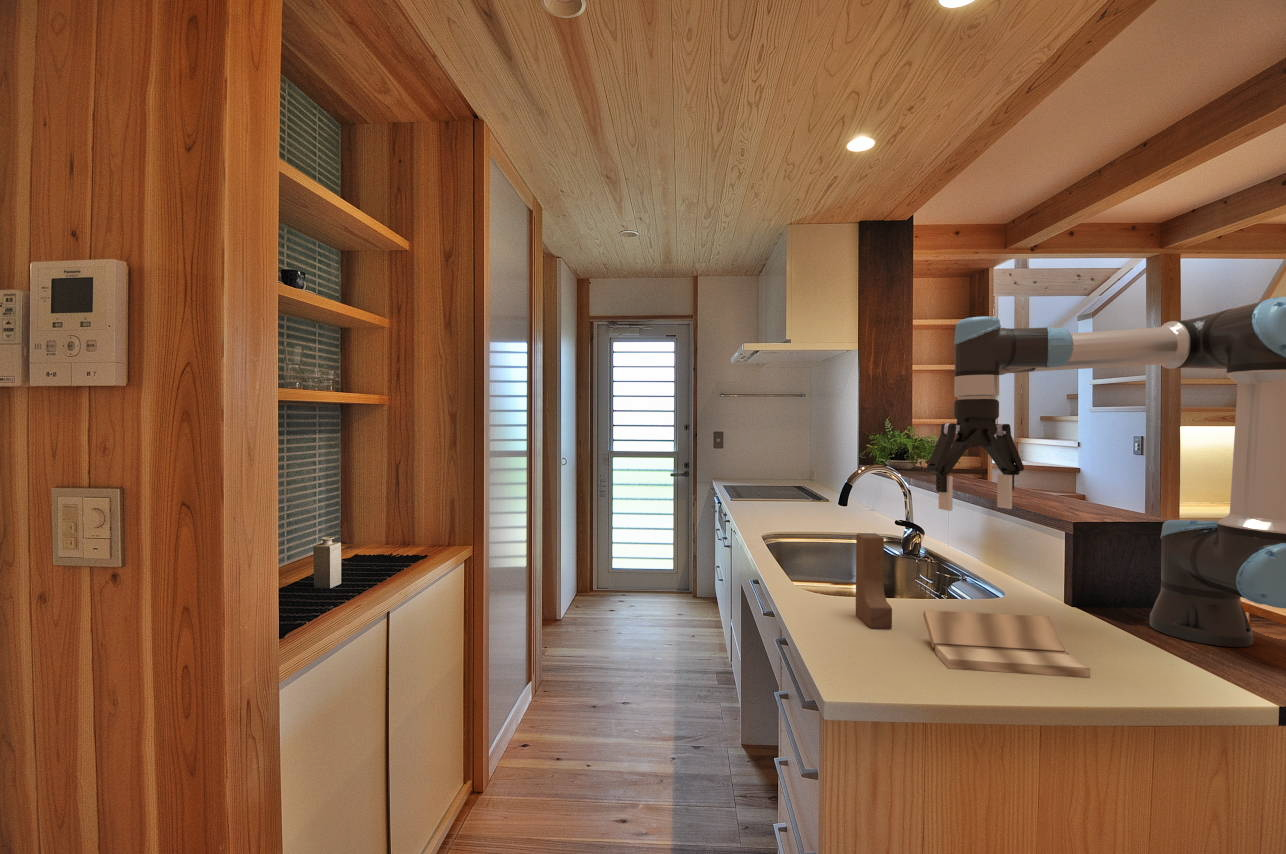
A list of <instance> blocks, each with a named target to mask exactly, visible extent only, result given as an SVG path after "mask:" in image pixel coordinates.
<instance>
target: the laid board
mask: <svg viewBox="0 0 1286 854" xmlns="http://www.w3.org/2000/svg"><path fill="white" fill-rule="evenodd" d="M934 649H935V650H934V651H935V652H934V653H935V655H936V656H937V657H938V658H939V660H940V661H941V662H942V663H943V664H944V665H945V666H946V667H947V668H948V669H952V670H955V669H956V670H970V671H983V672H984V671H985V672H1000V673H1001V672H1002V673H1014V674H1015V673H1016V674H1027V675H1028V674H1031V675H1044V676H1045V675H1047V676H1062V677H1075V678H1076V677H1077V678H1090V679H1091V667H1090V666H1089V665H1087V664H1085V663H1083V662H1082V661H1081V660H1080V659H1077V658H1076V657H1074V656H1073V655H1072V654H1070V653H1069V652H1066V651H1065V652H1049V651H1032V650H1016V649H999V648H983V647H966V646H950V645H935V648H934Z"/></svg>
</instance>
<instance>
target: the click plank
mask: <svg viewBox="0 0 1286 854" xmlns="http://www.w3.org/2000/svg"><path fill="white" fill-rule="evenodd" d="M922 617H923V620H924V623H925V626H926V630H927V633H928V637H929V640H930V641H929V642H930V644H931V648H934V649H935V645H950V646H966V647H983V648H999V649H1016V650H1032V651H1049V652H1065V653H1066V651H1067V650H1066V649H1065V646H1064V644H1063V642H1062V640H1061V637H1060V636H1059V634H1058V631H1057V630H1056V628H1055V625H1054V623H1053V622H1052V619H1051V617H1050V616H1046V615H1045V616H1044V615H1043V616H1041V615H1028V614H1027V615H1026V614H1025V615H1024V614H1023V615H1022V614H1005V613H989V612H971V611H969V612H968V611H950V610H949V611H948V610H947V611H946V610H927V609H924V610H923V614H922Z"/></svg>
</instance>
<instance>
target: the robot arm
mask: <svg viewBox="0 0 1286 854" xmlns="http://www.w3.org/2000/svg"><path fill="white" fill-rule="evenodd" d="M954 332H955V333H954V342H953V346H954V388H953V389H954V393H953V394H954V397H955V398H957V399H956V400H954V403H953V411H954V412H953V417H954V419H956V423H954V422H953V423H951V422H950V423H949V422H948V423H946V422H945V423H942V424H941V425H940V426H941V429H940V436H939V437H938V440H937V442H936V444H935V447H934V449H933V452H932V453H931V456H930V458H929V461H928V462H927V466H926V467H925V468H926V469H925V470H926V471H927V472H931V474H932V475H935V480H936V481H935V482H936V483H935V484H936V485H935V490H936V492H938V509H939V510H943V511H944V510H945V511H949V512H952V511H953V494H954V492H953V491H954V489H953V487H954V485H953V482H954V481H953V480H954V477H953V475H949V474H950V473H951V472H952V470H953V469H954V467H955V466H956V464H957V463H958V462H959V461H960V459H961V457H962V456H963V455H964V453H965V452H966V451H967V450H968V449H971V448H978V447H979V448H983V449H984V450H985V451H986V453H987V454H988V455H989V457H990V458H991V459H992V461H993V462H994V464H995V466H996V467H997V468H998V470H999V471H1000V472H1001V473H999V474H998V473H997V489H996V490H997V493H996V494H997V497H996V499H997V501H996V502H997V503H996V507H997V508H1000V509H1001V508H1002V509H1008V510H1013V492H1014V491H1015V476H1018V475H1020V474H1021V472H1023V471H1024V470H1025V467H1024V464H1023V462H1022V458H1021V456H1020V454H1019V451H1018V449H1017V446H1016V444H1015V442H1014V439H1013V436H1012V430H1011V429H1012V428H1011V425H1010V424H1009V423H996V420H997V419H999V417H1000V401H999V400H998V399H996V398H997V397H999V396H1000V376H1003V375H1007V374H1020V373H1031V372H1033V373H1034V372H1050V371H1051V372H1052V371H1062V370H1063V371H1065V370H1067V371H1068V370H1084V369H1101V368H1102V369H1103V368H1118V367H1135V366H1137V367H1138V366H1139V367H1140V366H1152V365H1160V366H1162V367H1163V368H1165V369H1169V370H1171V369H1172V370H1173V369H1174V370H1175V369H1209V370H1210V369H1211V370H1212V369H1213V370H1214V369H1215V370H1216V369H1217V370H1226V376H1227V377H1228V378H1229V379H1230V380H1232V381H1233V382H1235V384H1236V386H1237V392H1236V404H1235V405H1236V406H1235V407H1236V408H1235V419H1234V420H1235V423H1234V440H1233V453H1232V468H1231V469H1232V472H1231V486H1230V500H1229V501H1230V503H1229V513H1228V514H1227V515H1226V516H1225V517H1223V518H1221V519H1219V520H1197V519H1196V520H1193V519H1192V520H1188V519H1169V520H1166V521H1164V522H1163V524H1162V527H1161V534H1160V536H1159V537H1160V541H1161V543H1160V545H1161V548H1160V549H1161V551H1160V553H1161V559H1160V560H1161V562H1160V564H1161V565H1160V567H1161V568H1160V570H1161V571H1160V576H1161V577H1160V578H1161V579H1160V580H1161V581H1160V590H1159V591H1160V592H1159V594H1158V597H1157V598H1156V600H1155V602H1154V605H1153V608H1152V610H1151V611H1150V613H1149V626H1150V627H1151V628H1152V629H1153V630H1155V631H1157V632H1159V633H1163V634H1165V635H1166V636H1167V635H1168V636H1171V637H1173V638H1174V637H1175V638H1178V639H1181V640H1186V641H1189V642H1195V643H1199V644H1205V645H1211V646H1217V647H1218V646H1220V647H1226V648H1227V647H1229V648H1230V647H1231V648H1244V647H1251V646H1252V645H1253V644H1254V631H1253V629H1252V627H1251V624H1250V622H1249V619H1248V617H1247V614H1246V612H1245V609H1244V606H1243V605H1242V599H1241V598H1243V599H1246V601H1247V600H1248V602H1249V601H1250V602H1252V603H1254V604H1256V605H1257V604H1258V605H1265V606H1267V607H1268V606H1269V607H1272V608H1278V609H1286V296H1280V297H1278V296H1276V297H1270V298H1267V299H1265V300H1263V301H1259V302H1254V303H1251V304H1246V305H1241V306H1238V307H1235V308H1234V307H1233V308H1229V309H1225V310H1222V311H1218V312H1215V313H1211V314H1207V315H1202V316H1198V317H1195V318H1189V319H1188V318H1187V319H1184V320H1171V321H1168V322H1165V323H1163V324H1162V325H1161V326H1157V327H1145V328H1128V329H1117V330H1116V329H1115V330H1113V329H1112V330H1101V331H1099V330H1098V331H1086V332H1073V333H1072V332H1071V331H1069V329H1067V328H1065V327H1050V326H1046V327H1023V328H1022V327H1021V328H1019V327H1018V328H1017V327H1016V328H1014V327H1013V328H1005V327H1002V325H1001V322H1000V318H998V317H996V316H987V315H986V316H985V315H984V316H973V317H967V318H966V317H965V318H963V319H961V320H959V321H958V322H957V323H956V325H955V331H954Z"/></svg>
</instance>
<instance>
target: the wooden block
mask: <svg viewBox="0 0 1286 854" xmlns="http://www.w3.org/2000/svg"><path fill="white" fill-rule="evenodd" d="M855 536H856V544H855V547H856V549H855V552H856V553H855V554H856V555H855V556H856V559H855V565H856V566H855V570H856V571H855V615H856V617H858V618H859V620H861V621H862V622H863V623H864V624H865V625H866V626H868V627H869V629H872V630H873V629H874V630H875V629H876V630H879V629H880V630H881V629H884V630H891V629H892V628H893V608H892V606H891V604H889V602H888V601H887V599H886V595H885V587H884V585H885V584H884V568H885V567H884V561H885V560H884V557H885V556H884V555H885V552H884V551H885V550H884V549H885V548H884V547H885V539H884V537H883V536H881V535H879V534H878V533H868V532H867V533H862V532H859V533H856V535H855Z"/></svg>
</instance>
